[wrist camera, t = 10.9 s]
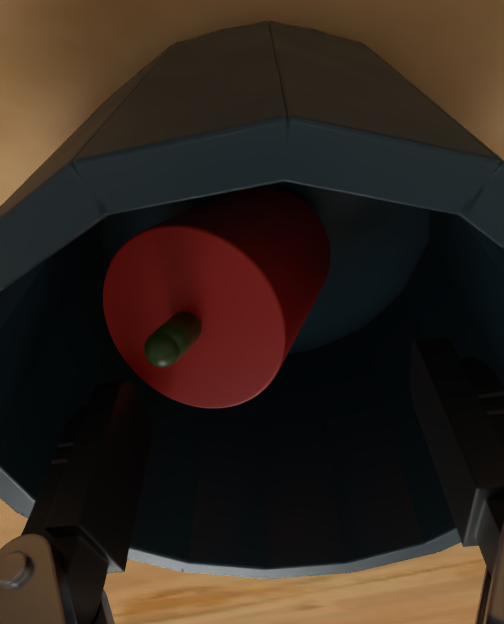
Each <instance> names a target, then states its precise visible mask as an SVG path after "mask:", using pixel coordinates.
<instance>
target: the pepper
mask: <svg viewBox="0 0 504 624" xmlns="http://www.w3.org/2000/svg"><path fill="white" fill-rule="evenodd" d="M329 267H330V246H329V240H328V237H327V234H326V231H325V229H324V226H323V224H322V222H321V221H320V219H319V217H318V216H317V215H316V213H315V212H314V211H313V210H312V208H311V207H310V206H309V205H308V204H307V203H305V202H304V201H303V200H302V199H300V198H299V197H298V196H296V195H294V194H293V193H291V192H289V191H286V190H284V189H281V188H278V187H274V186H268V185H265V186H259V187H254V188H249V189H244V190H238V191H233V192H230V193H227V194H225V195H223V196H221V197H218V198H216V199H214V200H212V201H209V202H207V203H205V204H202V205H200V206H198V207H196V208H193V209H191V210H189V211H187V212H184V213H182V214H180V215H177V216H175V217H173V218H171V219H168V220H166V221H164V222H162V223H159V224H157V225H155V226H152V227H150V228H148V229H146V230H144V231H142V232H140V233H138V234H136V235H134V236H133V237H132V238H130V239H129V240H128V241H126V242H125V243H124V244H123V246H122V247H121V248H120V249H119V250H118V251H117V253H116V254H115V256H114V257H113V259H112V261H111V263H110V265H109V268H108V270H107V273H106V277H105V280H104V287H103V308H104V315H105V319H106V323H107V327H108V329H109V332H110V335H111V337H112V339H113V341H114V343H115V346H116V347H117V349H118V351H119V352H120V354H121V356H122V357H123V358H124V360H125V361H126V362H127V364H128V365H129V366H130V367H131V368H132V369H133V371H134V372H135V373H136V374H137V375H138V376H139V377H140V378H141V379H143V380H144V381H145V382H146V383H147V384H149V385H150V386H151V387H153V388H154V389H155V390H157V391H159V392H160V393H162V394H163V395H165V396H167V397H169V398H171V399H173V400H176V401H178V402H181V403H184V404H187V405H191V406H195V407H202V408H226V407H231V406H235V405H239V404H241V403H244V402H246V401H248V400H250V399H252V398H254V397H255V396H257V395H259V394H260V393H261V392H262V391H263V390H264V389H266V388H267V387H268V385H269V384H270V383H271V382H272V381H273V379H274V378H275V376H276V375H277V373H278V371H279V369H280V368H281V366H282V364H283V362H284V360H285V358H286V356H287V354H288V352H289V350H290V348H291V347H292V345H293V343H294V341H295V339H296V337H297V335H298V333H299V331H300V329H301V327H302V325H303V324H304V322H305V320H306V318H307V316H308V314H309V312H310V310H311V308H312V306H313V304H314V303H315V301H316V299H317V297H318V295H319V293H320V291H321V289H322V287H323V285H324V283H325V281H326V278H327V275H328V272H329Z"/></svg>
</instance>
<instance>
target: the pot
mask: <svg viewBox="0 0 504 624" xmlns="http://www.w3.org/2000/svg"><path fill="white" fill-rule="evenodd" d="M265 185H268V186H274V187H278V188H281V189H284V190H286V191H289V192H291V193H293V194H294V195H296V196H298V197H299V198H300V199H302V200H303V201H304V202H305V203H307V204H308V205H309V206H310V207H311V208H312V210H313V211H314V212H315V213H316V215H317V216H318V217H319V219H320V221H321V222H322V224H323V226H324V229H325V231H326V234H327V237H328V240H329V246H330V267H329V272H328V275H327V278H326V281H325V283H324V285H323V287H322V289H321V291H320V293H319V295H318V297H317V299H316V301H315V303H314V304H313V306H312V308H311V310H310V312H309V314H308V316H307V318H306V320H305V322H304V324H303V325H302V327H301V329H300V331H299V333H298V335H297V337H296V339H295V341H294V343H293V345H292V347H291V348H290V350H289V352H288V354H287V356H286V358H285V360H284V362H283V364H282V366H281V368H280V369H279V371H278V373H277V375H276V376H275V378H274V379H273V381H272V382H271V383H270V384H269V385H268V387H267V388H266V389H264V390H263V391H262V392H261V393H260V394H259V395H257V396H255V397H254V398H252V399H250V400H248V401H246V402H244V403H241V404H239V405H235V406H231V407H226V408H202V407H195V406H191V405H187V404H184V403H181V402H178V401H176V400H173V399H171V398H169V397H167V396H165V395H163V394H162V393H160V392H159V391H157V390H155V389H154V388H153V387H151V386H150V385H149V384H147V383H146V382H145V381H144V380H143V379H141V378H140V377H139V376H138V375H137V374H136V373H135V372H134V371H133V369H132V368H131V367H130V366H129V365H128V364H127V362H126V361H125V360H124V358H123V357H122V356H121V354H120V352H119V351H118V349H117V347H116V346H115V343H114V341H113V339H112V337H111V335H110V332H109V329H108V327H107V323H106V319H105V315H104V308H103V287H104V280H105V277H106V273H107V270H108V268H109V265H110V263H111V261H112V259H113V257H114V256H115V254H116V253H117V251H118V250H119V249H120V248H121V247H122V246H123V244H124V243H125V242H126V241H128V240H129V239H130V238H132V237H133V236H134V235H136V234H138V233H140V232H142V231H144V230H146V229H148V228H150V227H152V226H155V225H157V224H159V223H162V222H164V221H166V220H168V219H171V218H173V217H175V216H177V215H180V214H182V213H184V212H187V211H189V210H191V209H193V208H196V207H198V206H200V205H202V204H205V203H207V202H209V201H212V200H214V199H216V198H218V197H221V196H223V195H225V194H227V193H230V192H233V191H238V190H244V189H249V188H254V187H259V186H265ZM441 337H447V338H449V340H450V341H451V343H452V345H453V347H454V349H455V351H456V353H457V355H458V357H459V358H466V357H474V356H476V357H477V358H478V359H480V360H481V361H482V362H483V363H485V364H486V365H487V366H488V367H489V368H491V369H492V370H493V371H494V372H495V373H496V374H497V376H498V378H499V380H500V381H501V383H502V385H503V387H504V160H502V159H501V158H500V157H499V156H498V155H497V154H495V153H494V152H493V151H492V150H491V149H489V148H488V147H487V146H486V145H485V144H483V143H482V142H481V141H480V140H479V139H477V138H476V137H475V136H474V135H473V134H471V133H470V132H469V131H468V130H467V129H465V128H464V127H463V126H462V125H461V124H459V123H458V122H457V121H456V120H455V119H453V118H452V117H451V116H450V115H449V114H447V113H446V112H445V111H444V110H443V109H441V108H440V107H439V106H438V105H437V104H435V103H434V102H433V101H432V100H431V99H430V98H428V97H427V96H426V95H425V94H424V93H422V92H421V91H420V90H419V89H418V88H416V87H415V86H414V85H413V84H412V83H410V82H409V81H408V80H407V79H406V78H404V77H403V76H402V75H401V74H400V73H398V72H397V71H396V70H395V69H394V68H392V67H391V66H390V65H389V64H388V63H386V62H385V61H384V60H383V59H382V58H380V57H379V56H378V55H377V54H376V53H374V52H373V51H372V50H371V49H370V48H368V47H367V46H366V45H365V44H362V43H361V42H357V41H353V40H348V39H344V38H340V37H337V36H333V35H330V34H327V33H324V32H321V31H318V30H315V29H309V28H302V27H296V26H289V25H285V24H281V23H276V22H272V21H270V22H269V23H268V22H267V21H265V22H261V23H257V24H253V25H247V26H241V27H235V28H229V29H222V30H219V31H216V32H213V33H209V34H206V35H203V36H200V37H197V38H194V39H190V40H186V41H182V42H177V43H175V44H174V45H171V46H170V47H169V48H167V49H166V50H165V51H164V52H163V53H161V54H160V55H159V56H158V57H157V58H156V59H154V60H153V61H152V62H151V63H150V64H148V65H147V66H146V67H145V68H143V69H142V70H141V71H140V72H139V73H138V74H137V75H135V76H134V77H133V78H132V79H131V80H130V81H128V82H127V83H126V84H125V85H124V86H122V87H121V88H120V89H119V90H118V91H117V92H115V93H114V94H113V95H112V96H111V97H109V98H108V99H107V100H106V101H105V102H104V103H103V104H102V105H101V106H100V107H99V108H98V109H97V110H96V111H95V112H94V113H93V114H92V115H91V116H90V117H89V118H88V119H87V120H86V121H85V122H84V123H83V124H82V125H81V126H80V127H79V128H78V129H77V130H76V131H75V132H74V133H73V134H72V135H71V136H70V137H69V138H68V139H67V140H66V141H65V142H64V143H63V144H62V145H61V146H60V147H59V148H58V149H57V150H56V151H55V152H54V153H53V154H52V155H51V156H50V157H49V158H48V159H47V160H46V161H45V162H44V163H43V164H42V165H41V166H40V167H39V168H38V169H37V170H36V171H35V172H34V173H33V174H32V175H31V176H30V177H29V178H28V179H27V180H26V181H25V182H24V183H23V184H22V185H21V186H20V187H19V188H18V189H17V190H16V191H15V192H14V193H13V194H12V195H11V196H10V197H9V198H8V199H7V200H6V201H5V202H4V203H3V204H2V205H1V206H0V498H1V499H2V500H3V501H4V502H5V503H7V504H8V505H9V506H10V507H11V508H12V509H13V510H15V511H16V512H17V513H20V514H21V515H22V516H25V517H27V518H29V516H30V513H31V511H32V508H33V506H34V503H35V501H36V498H37V496H38V493H39V491H40V488H41V486H42V483H43V481H44V478H45V475H46V473H47V470H48V468H49V466H50V465H51V464H52V462H51V460H52V458H53V455H54V453H55V450H56V449H58V443H59V440H60V438H61V435H62V433H63V430H64V428H65V425H66V424H67V423H68V422H69V420H70V419H71V418H72V416H73V415H74V414H75V413H76V411H77V410H78V409H79V408H80V407H86V406H88V404H89V401H90V398H91V395H92V393H93V390H94V388H95V387H96V385H98V384H102V383H109V382H116V381H123V380H128V381H130V382H131V384H132V385H133V387H134V389H135V391H136V392H137V394H138V396H139V398H140V399H141V401H142V403H143V405H144V406H145V408H146V410H147V412H148V414H149V416H150V418H151V422H152V430H153V435H152V442H151V447H150V451H149V456H148V461H147V466H146V471H145V475H144V480H143V485H142V490H141V495H140V500H139V504H138V509H137V514H136V519H135V524H134V528H133V533H132V538H131V543H130V548H129V552H128V557H127V558H128V559H132V560H136V561H140V562H144V563H148V564H152V565H156V566H160V567H164V568H168V569H172V570H176V571H183V572H188V573H201V574H213V575H226V576H238V577H251V578H267V579H273V578H286V577H300V576H314V575H327V574H341V573H351V572H357V571H361V570H366V569H370V568H374V567H378V566H383V565H387V564H391V563H395V562H399V561H404V560H408V559H412V558H416V557H421V556H425V555H429V554H433V553H437V552H440V551H442V550H445V549H447V548H449V547H451V546H454V545H456V544H458V543H460V542H461V539H460V536H459V534H458V531H457V528H456V525H455V522H454V519H453V517H452V514H451V511H450V508H449V505H448V502H447V499H446V497H445V494H444V491H443V488H442V485H441V482H440V480H439V477H438V474H437V471H436V468H435V465H434V462H433V460H432V457H431V454H430V451H429V448H428V445H427V443H426V440H425V437H424V434H423V431H422V428H421V425H420V423H419V420H418V417H417V414H416V411H415V408H414V405H413V401H412V396H411V389H410V375H411V351H412V343H413V341H419V340H426V339H434V338H441Z"/></svg>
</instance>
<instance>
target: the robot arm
mask: <svg viewBox="0 0 504 624" xmlns="http://www.w3.org/2000/svg"><path fill="white" fill-rule="evenodd" d="M410 389H411V396H412V401H413V405H414V408H415V411H416V414H417V417H418V420H419V423H420V425H421V428H422V431H423V434H424V437H425V440H426V443H427V445H428V448H429V451H430V454H431V457H432V460H433V462H434V465H435V468H436V471H437V474H438V477H439V480H440V482H441V485H442V488H443V491H444V494H445V497H446V499H447V502H448V505H449V508H450V511H451V514H452V517H453V519H454V522H455V525H456V528H457V531H458V534H459V536H460V539H461V542H462V545H463V547H465V546H478V545H479V547H480V550H481V553H482V555H483V558H484V560H485V563H486V570H485V575H484V580H483V585H482V590H481V595H480V600H479V605H478V610H477V615H476V620H475V624H504V387H503V385H502V383H501V381H500V380H499V378H498V376H497V374H496V373H495V372H494V371H493V370H492V369H491V368H489V367H488V366H487V365H486V364H485V363H483V362H482V361H481V360H480V359H478V358H477V357H476V356H474V357H466V358H459V357H458V355H457V353H456V351H455V349H454V347H453V345H452V343H451V341H450V340H449V338H447V337H441V338H434V339H426V340H419V341H413V343H412V351H411V375H410ZM152 435H153V430H152V422H151V418H150V416H149V414H148V412H147V410H146V408H145V406H144V405H143V403H142V401H141V399H140V398H139V396H138V394H137V392H136V391H135V389H134V387H133V385H132V384H131V382H130V381H128V380H123V381H116V382H109V383H102V384H98V385H96V387H95V388H94V390H93V393H92V395H91V398H90V401H89V404H88V406H86V407H80V408H79V409H78V410H77V411H76V413H75V414H74V415H73V416H72V418H71V419H70V420H69V422H68V423H67V424H66V425H65V428H64V430H63V433H62V435H61V438H60V440H59V443H58V449H56V450H55V453H54V455H53V458H52V460H51V462H52V464H51V465H50V466H49V468H48V470H47V473H46V475H45V478H44V481H43V483H42V486H41V488H40V491H39V493H38V496H37V498H36V501H35V503H34V506H33V508H32V511H31V513H30V516H29V518H28V521H27V523H26V526H25V528H24V530H23V532H22V534H21V536H19V537H17V538H15V539H13V540H11V541H10V542H8V543H7V544H6V545H4V546H3V547H2V548H1V549H0V624H115V623H114V620H113V616H112V612H111V609H110V605H109V602H108V598H107V595H106V593H105V591H104V590H103V588H104V583H105V579H106V575H107V573H113V572H125V567H126V562H127V557H128V552H129V548H130V543H131V538H132V533H133V528H134V524H135V519H136V514H137V509H138V504H139V500H140V495H141V490H142V485H143V480H144V475H145V471H146V466H147V461H148V456H149V451H150V447H151V442H152Z"/></svg>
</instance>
